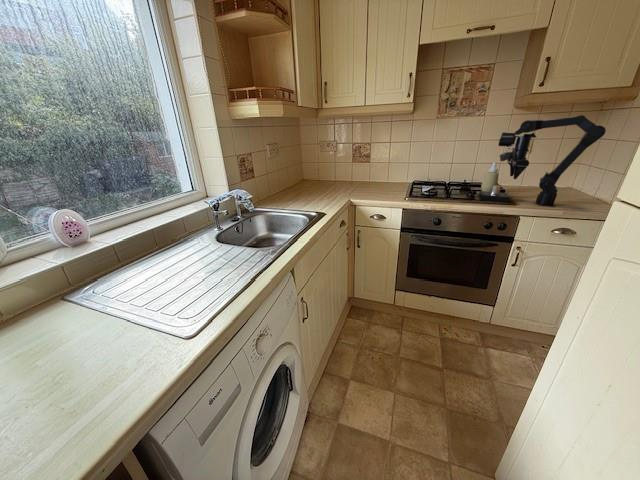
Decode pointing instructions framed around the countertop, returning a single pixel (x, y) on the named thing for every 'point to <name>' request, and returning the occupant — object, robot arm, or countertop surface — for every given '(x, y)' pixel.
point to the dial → (495, 189)
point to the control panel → (494, 197)
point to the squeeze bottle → (490, 178)
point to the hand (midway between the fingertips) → (512, 177)
